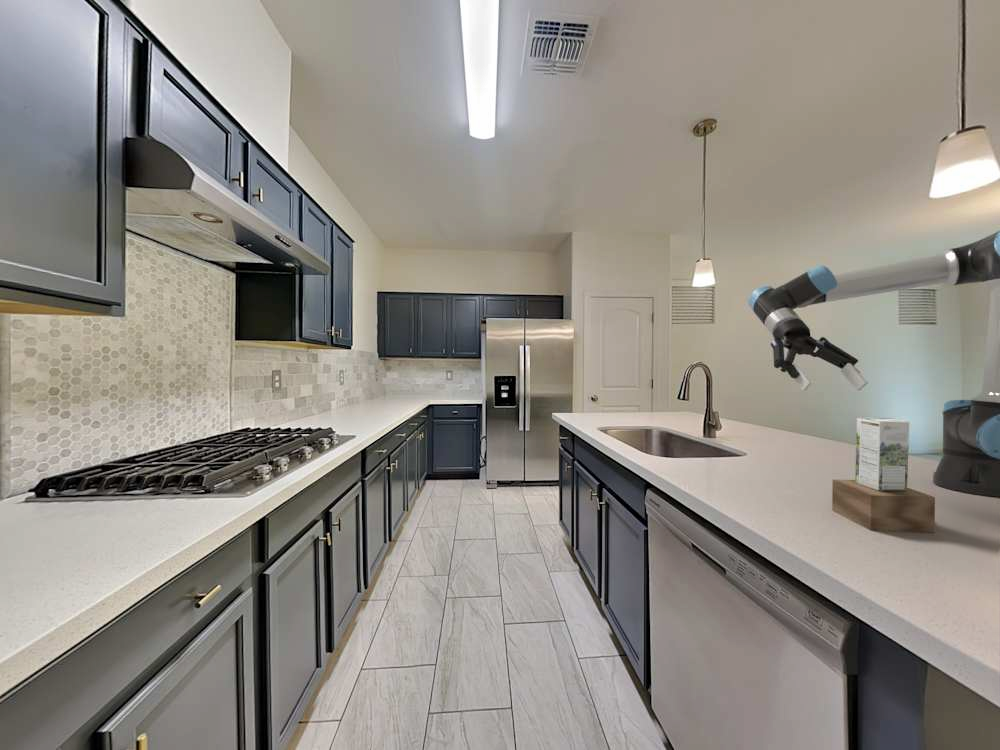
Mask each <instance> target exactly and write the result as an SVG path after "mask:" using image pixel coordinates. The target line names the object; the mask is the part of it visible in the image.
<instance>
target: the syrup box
mask: <svg viewBox="0 0 1000 750" xmlns="http://www.w3.org/2000/svg"><path fill="white" fill-rule="evenodd" d="M909 433H910V422H909V421H907V420H905V419H902V418H901V419H900V418H895V417H856V440H855V443H856V445H855V473H854V474H855V478H854V480H855V482H856V483H857V484H860V485H863V486H866V487H869V488H872V489H875V490H878V491H907V488H908V473H909V444H910V443H909V440H910V434H909Z"/></svg>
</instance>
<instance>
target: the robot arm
mask: <svg viewBox="0 0 1000 750" xmlns="http://www.w3.org/2000/svg"><path fill="white" fill-rule="evenodd" d="M975 283H976V284H977V283H981V285H982V286H983V287H985V288H987V289H988V290H990V301H989V313H988V326H987V333H986V334H987V335H986V345H985V355H984V357H985V359H984V366H983V378H982V379H983V380H982V387H981V392H980V393H979V394H977V395H975V396H974V397H973V396H972V397H971V399H954V400H953V399H952V400H949V401H948V400H947V401H946V402H945V403H944V404H943V410H942V412H941V413H942V456H941V458H940V460H939V462H938V464H937V466H936V470H935V471H934V472H933V474H932V483H933V484H934V485H937V486H938V487H941V488H945V489H947V490H951V491H956V492H962V493H968V494H973V495H979V496H986V497H987V496H988V497H998V498H1000V230H998V231H995V232H994V233H992V234H990V235H988V236H986V237H984V238H982V239H978V240H977V241H974V242H970V243H969V244H966V245H962V246H959V247H955V248H954V247H952V248H949V249H945V250H944V251H943V252H942V253H941V254H939V255H933V256H927V257H922V258H917V259H911V260H907V261H901V262H896V263H891V264H886V265H881V266H874V267H871V268H870V267H869V268H865V269H859V270H855V271H848V272H844V273H838V274H834V273H833V272H832V271H831V270H830V269H829V268H828V267H827V266H826V265H823V264H821V265H818V266H816V267H813V268H812V269H808V270H807V271H806V272H803V273H802V274H801V275H798V276H797V277H795V278H793V279H791V280H789V281H788V282H785V283H784V284H782V285H780V286H778V287H776V288H774V287H773V286H771V285H765V286H760V287H757V288H756V289H755V290H754V291H752V292H751V293H750V295H749V297H748V300H747V301H748V305H749V307H750V308H751V310H752V311H753V313H754V314H755V315H756V317H757V318H758V319H759V320H760V322H761V323H762V324H763V325H764V326H765V327H766V329H767V331H768V332H769V333H770V334H771V335H772V337H773V338H774V339H773V340H772V342H771V343H770V346H771V348H772V350H773V351H772V353H773V356H772V357H773V367H774V368H775V369H780V372H783V373H788V375H789V376H790V378H792V379H793V380H794V381H795V382H796V384H797V385H798V386H799V388H800V389H801V390H802V391H807V390H808V389H809V388H810V387H811V385H812V384H813V381H812V380H811V379H810V378H809V376H808V375H807V374H806V372H805V371H804V369H802V367H801V366H800V365H799V363H798V362H795V363H794V361H795V358H796V355H799V356H802V355H807V356H811V357H813V358H819V359H821V360H823V361H825V362H827V363H829V364H831V365H833V366H834V367H837V368H839V369H841V370H840V372H841V373H842V375H843V376H844V377H845V378H846V380H847V381H849V383H850V384H851V385H852V386H853V387H854V388H855V390H857V391H862V390H863V389H864V387H866V386H867V385H868V384H869V382H868V381H867V380H866V379H865V378H864V376H863V375H862V374H861V372H860V371H859V370H858V369H857V367H855V365H856V364H857V363H858V362H859V359H857V358H856V357H855V356H853V355H851V354H849V353H847V352H846V351H845V350H843V349H841V348H840V347H838V346H836V345H835V344H833V343H831V341H829V340H828V339H827V338H826V337H824V336H820V338H819V339H815V338H814V337H812V335H811V330H810V327H809V326H808V325H807V324H806V323H805V321H803V320H802V319H801V317H800V316H799V314H797V312H795V309H800V308H806V307H808V306H813V305H819V304H823V303H829V302H836V301H842V300H849V299H853V298H854V299H855V298H859V297H865V296H870V295H871V296H873V295H876V294H877V295H879V294H884V293H889V292H890V293H891V292H896V291H897V292H898V291H903V290H909V289H910V290H911V289H917V288H922V287H928V286H929V287H930V286H934V285H940V284H944V285H946V286H949V287H953V286H958V285H965V284H966V285H967V284H975ZM785 349H787V350H788V351H787V353H786V357H785ZM816 349H817V350H816ZM815 350H816V351H815Z"/></svg>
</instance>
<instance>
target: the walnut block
mask: <svg viewBox="0 0 1000 750" xmlns="http://www.w3.org/2000/svg"><path fill="white" fill-rule="evenodd" d="M831 482H832V490H831V492H832V493H831V494H832V496H831V497H832V499H831V500H832V501H831V503H832V505H831V508H832V509H831V511H833V512H835V513H836V514H838V515H840V516H842V517H844V518H846V519H847V520H850V521H852V522H854V523H856V524H858V525H859V524H860V526H861V525H862V526H861V527H863V526H864V527H863V528H865V529H867V530H868V531H872V530H873V531H874V532H877V531H878V532H896V531H900V532H902V533H919V532H921V534H922V533H925V534H935V531H936V530H935V528H936V527H935V524H936V521H935V519H936V518H935V516H936V515H935V513H936V497H935V496H933V495H929V494H927V493H924V492H922V491H918V490H916V489H912V488H909V487H907V491H878V490H875V489H872V488H869V487H866V486H863V485H860V484H857V483H856V482H855V479H832V480H831Z"/></svg>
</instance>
